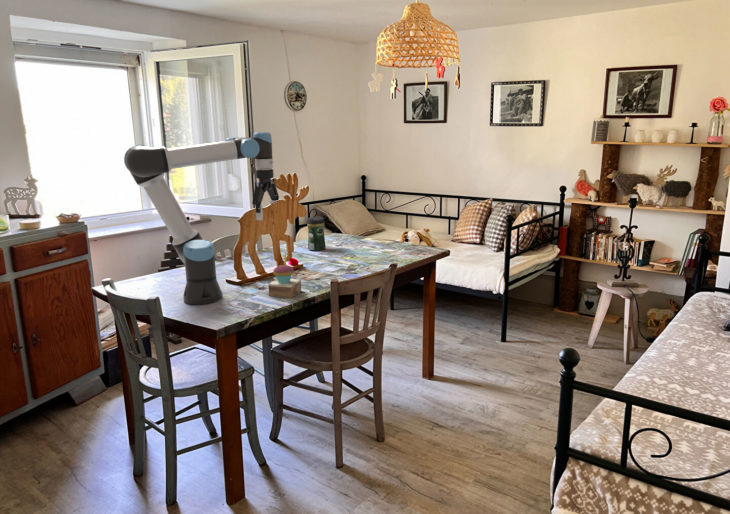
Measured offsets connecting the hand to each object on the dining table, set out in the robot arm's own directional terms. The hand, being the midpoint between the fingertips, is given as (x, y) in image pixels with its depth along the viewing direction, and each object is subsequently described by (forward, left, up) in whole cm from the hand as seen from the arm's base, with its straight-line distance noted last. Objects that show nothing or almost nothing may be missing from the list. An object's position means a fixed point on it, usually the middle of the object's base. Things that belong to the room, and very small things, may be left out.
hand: (267, 217), depth 240 cm
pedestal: (-16, -15, -29) cm, 36 cm away
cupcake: (-16, -15, -24) cm, 33 cm away
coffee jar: (+62, +3, -29) cm, 68 cm away
